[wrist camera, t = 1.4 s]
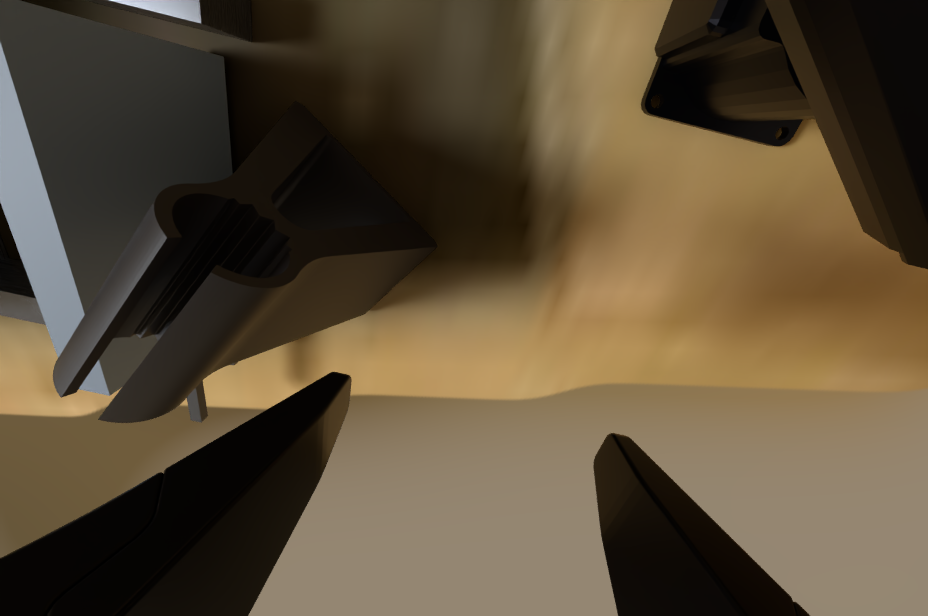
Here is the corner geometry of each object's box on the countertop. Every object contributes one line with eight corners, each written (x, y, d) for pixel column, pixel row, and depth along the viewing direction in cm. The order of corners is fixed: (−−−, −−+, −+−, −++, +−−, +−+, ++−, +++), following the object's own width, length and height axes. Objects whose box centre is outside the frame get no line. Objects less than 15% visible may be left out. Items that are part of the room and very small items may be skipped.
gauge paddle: (223, 56, 15) (-17, -10, 8) (248, 383, 23) (140, 495, 16) (188, 48, 15) (-85, -27, 8) (225, 378, 23) (107, 489, 16)
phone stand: (438, 245, 19) (369, 398, 8) (366, 311, 21) (234, 502, 10) (300, 100, 16) (-75, 42, 5) (233, 192, 18) (-133, 282, 8)
